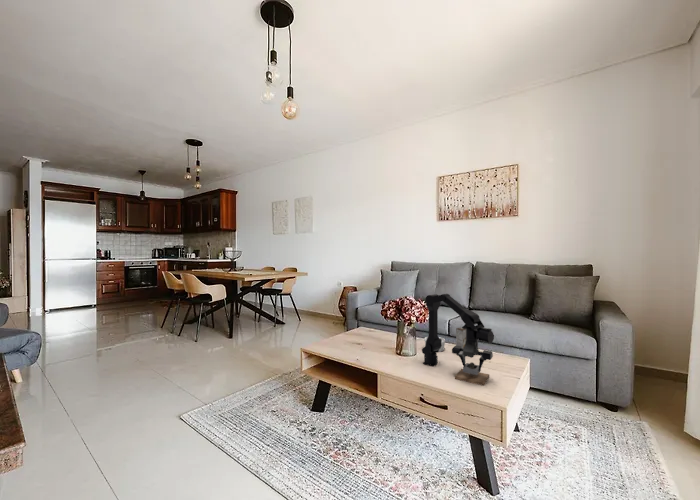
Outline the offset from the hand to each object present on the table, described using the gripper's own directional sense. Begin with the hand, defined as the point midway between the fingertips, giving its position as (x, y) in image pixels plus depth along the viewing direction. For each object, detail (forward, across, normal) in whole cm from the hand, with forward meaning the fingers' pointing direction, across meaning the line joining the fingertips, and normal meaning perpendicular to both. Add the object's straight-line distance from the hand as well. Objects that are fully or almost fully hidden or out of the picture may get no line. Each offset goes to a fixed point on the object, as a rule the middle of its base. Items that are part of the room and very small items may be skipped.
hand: (472, 369), depth 162 cm
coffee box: (+5, -13, +36) cm, 39 cm away
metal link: (+1, 0, 0) cm, 1 cm away
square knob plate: (+5, 0, 0) cm, 5 cm away
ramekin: (+5, -32, +34) cm, 47 cm away
